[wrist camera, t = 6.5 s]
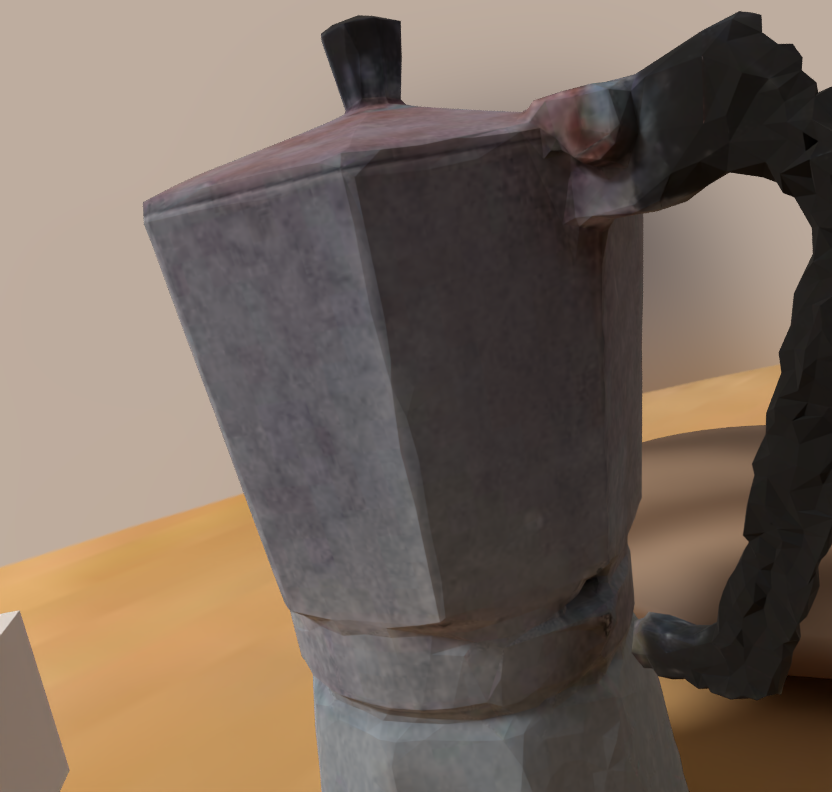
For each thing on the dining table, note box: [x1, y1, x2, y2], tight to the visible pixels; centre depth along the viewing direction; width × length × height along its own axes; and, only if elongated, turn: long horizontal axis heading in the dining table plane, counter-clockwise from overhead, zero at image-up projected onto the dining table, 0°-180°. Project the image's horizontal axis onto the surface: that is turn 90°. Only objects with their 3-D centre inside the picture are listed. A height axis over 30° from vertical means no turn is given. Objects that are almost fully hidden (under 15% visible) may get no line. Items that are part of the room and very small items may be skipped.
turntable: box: [628, 425, 832, 679], centre depth 31 cm, size 19×19×1 cm
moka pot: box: [143, 11, 832, 792], centre depth 15 cm, size 10×15×20 cm, turn 45°
